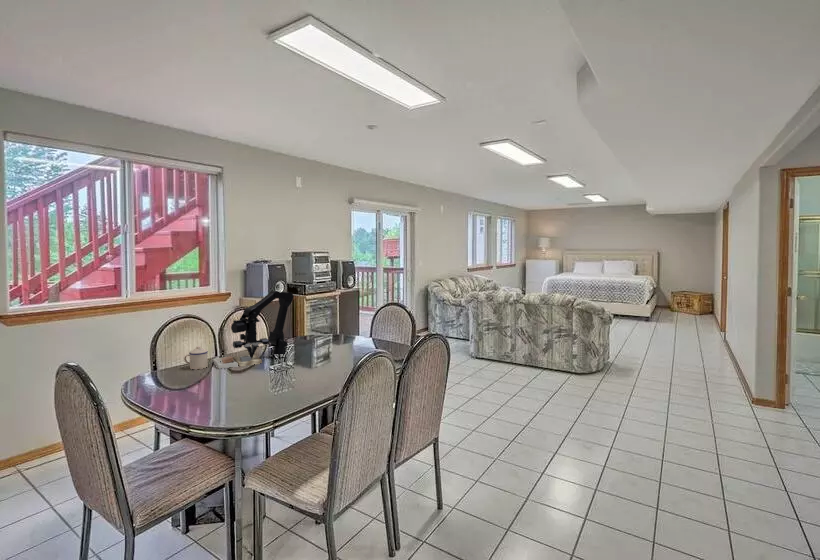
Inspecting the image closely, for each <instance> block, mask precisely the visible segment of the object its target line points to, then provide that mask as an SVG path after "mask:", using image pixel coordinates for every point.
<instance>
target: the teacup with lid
mask: <svg viewBox="0 0 820 560" xmlns="http://www.w3.org/2000/svg"><path fill="white" fill-rule="evenodd" d="M208 352H209V351H208V349H205V348H202V347H201V346H200V345H198V346H196V347H195V348H194V349H192V350H190V351H189V352H188V354H186V355H184V357H183V361H184V362H185V363H186V364H188V365H189V369H191V370H192V369H195V370H194V371H198V370H197V369H200V370H204V369H203V368H205V369H207V368H208V366H209V365H208V363H209V362H208V361H209V359H208ZM187 357H189V361H188V360H187ZM206 367H207V368H206Z"/></svg>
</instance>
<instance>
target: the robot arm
mask: <svg viewBox="0 0 820 560" xmlns="http://www.w3.org/2000/svg"><path fill="white" fill-rule="evenodd" d="M276 299H278V304H279V308H278V312H277V317H276V322H275V325H274V329H273V330H272V331H269V336H268V338H267V337H263V338H259V340H257V338H258V337H257V335H258V334H257V323H260V321H261V320H259V319H258V317H259V316H260V314H261V312H262V311H263V309H265V308H266V307H267V306H268V305H270V304H271V303H272V302H273V301H275V300H276ZM293 300H294V294H293V293H292V291H278V290H270V291H269V292H268V294H267V295H265V296H264V297H263V298H261V299H260V300H259V301H257V303H255V304H252V305H250V306H248V307H246V308H244V310H243V313H242V314H241V316H240V318H239V319H238V320H236V319H234V320H233V321H232V322H233V323H232V324H231V327H230V329H231V332H232V333H234V334H237V333H240V334H239V340H235V341H232V347H233V348H234V349H239V348H240V349H241V348H242V347H243V348H245V349H246V350H247V352H248V355H250V357H251V358H253V355H255V353H256V351H257V349H258V348H260V344H261V345H262V344H263V346H266V345H271V347H272V348H273V349H272V355H273V354H285V355H286V348H287V347H288V342H287V341H286V340H285V333H284V327H285V323H286V318H287V313H288V309H289V307H290V305H291V304H292V302H293ZM243 332H244V333H243Z"/></svg>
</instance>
